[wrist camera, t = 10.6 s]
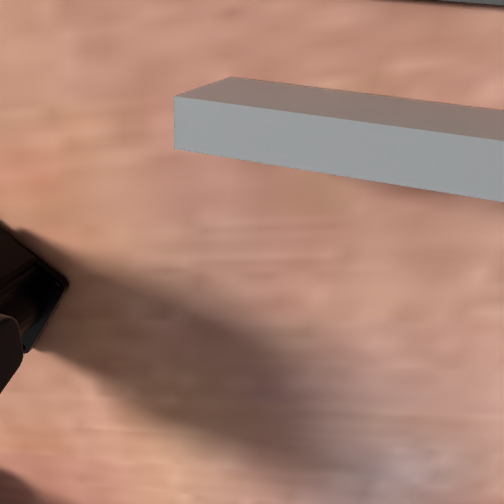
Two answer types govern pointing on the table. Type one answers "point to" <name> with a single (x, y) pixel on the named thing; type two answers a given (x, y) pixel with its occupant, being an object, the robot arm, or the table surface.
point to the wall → (347, 134)
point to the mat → (480, 1)
